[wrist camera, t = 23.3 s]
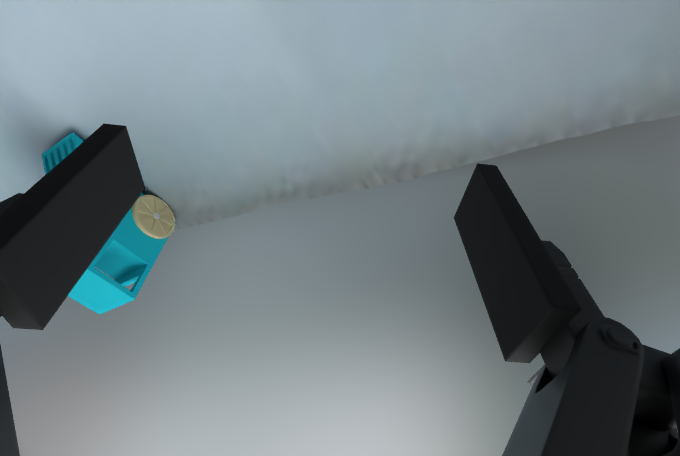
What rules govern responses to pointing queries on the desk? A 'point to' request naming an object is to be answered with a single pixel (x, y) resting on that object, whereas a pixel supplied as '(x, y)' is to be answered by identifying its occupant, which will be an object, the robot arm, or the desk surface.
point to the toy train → (119, 245)
